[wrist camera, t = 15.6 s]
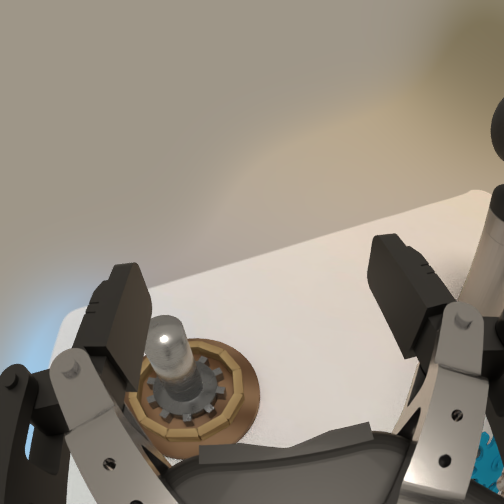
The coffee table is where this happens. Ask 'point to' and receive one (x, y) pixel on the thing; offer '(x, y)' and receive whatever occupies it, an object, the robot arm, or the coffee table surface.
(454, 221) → the coffee table surface
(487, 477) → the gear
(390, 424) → the coffee table surface
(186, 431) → the carrier disc
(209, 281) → the coffee table surface
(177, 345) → the gear
